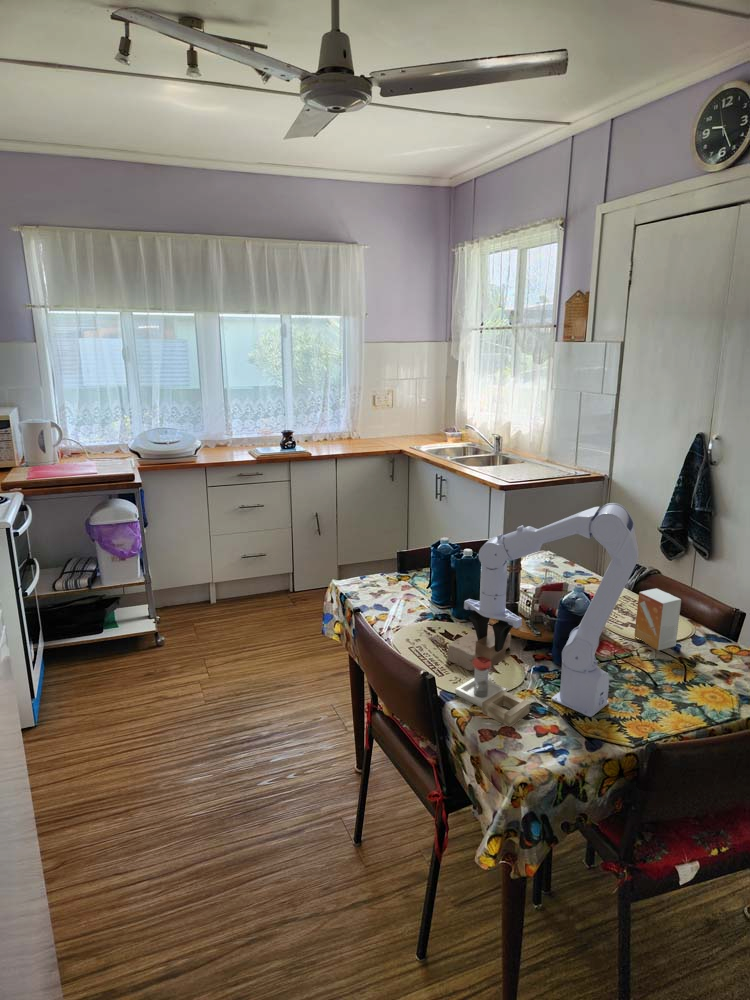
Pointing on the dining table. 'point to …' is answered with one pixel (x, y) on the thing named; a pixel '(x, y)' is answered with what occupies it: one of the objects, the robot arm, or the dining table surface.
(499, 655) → the brown rectangular block
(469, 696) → the tray
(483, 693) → the pin
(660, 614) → the small box
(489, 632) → the brick
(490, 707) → the socket block
